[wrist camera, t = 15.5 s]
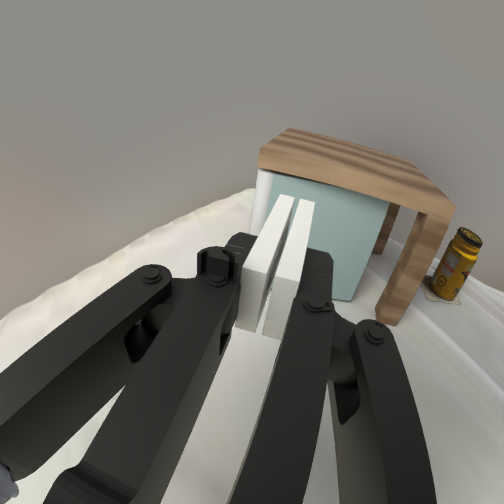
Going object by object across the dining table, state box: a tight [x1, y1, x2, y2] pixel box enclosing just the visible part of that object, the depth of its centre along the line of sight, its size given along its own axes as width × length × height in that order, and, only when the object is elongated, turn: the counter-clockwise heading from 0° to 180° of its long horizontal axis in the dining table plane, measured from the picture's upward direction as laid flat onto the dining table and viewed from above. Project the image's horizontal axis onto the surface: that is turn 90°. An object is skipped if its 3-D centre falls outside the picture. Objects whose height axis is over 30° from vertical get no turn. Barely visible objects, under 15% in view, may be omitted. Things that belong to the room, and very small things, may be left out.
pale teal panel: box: [249, 168, 390, 301], centre depth 33 cm, size 2×15×15 cm, turn 83°
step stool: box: [257, 128, 456, 326], centre depth 40 cm, size 22×22×18 cm
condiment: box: [420, 227, 482, 304], centre depth 39 cm, size 7×8×12 cm
